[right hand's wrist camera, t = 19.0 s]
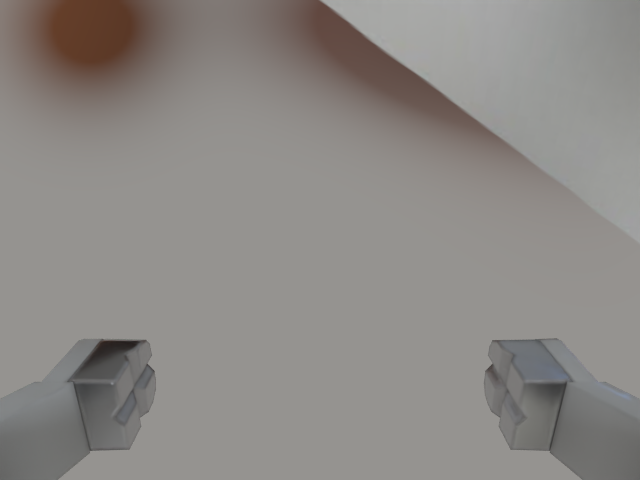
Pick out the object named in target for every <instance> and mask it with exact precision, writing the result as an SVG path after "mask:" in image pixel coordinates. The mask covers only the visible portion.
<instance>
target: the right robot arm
mask: <svg viewBox="0 0 640 480" xmlns="http://www.w3.org/2000/svg"><path fill="white" fill-rule="evenodd" d="M151 356H152V353H151V348H150V344H149V342H148V341H147V340H132V339H83V340H79V341H78V342H77V343H76V344H75V345H74V346H73V347H72V349H71V350H70V351H69V352H68V353H67V354H66V355H65V356H64V358H63V359H62V360H61V361H60V362H59V363H58V364H57V365H56V366H55V367H54V369H53V370H52V371H51V372H50V373H49V374H48V375H47V376H46V377H45V379H44V380H43V381H42V382H34V383H31V384H29V385H27V386H25V387H23V388H21V389H19V390H17V391H15V392H13V393H11V394H9V395H7V396H5V397H3V398H1V399H0V480H58V479H59V478H60V477H61V476H63V475H64V474H65V473H66V472H68V471H69V470H70V469H71V468H72V467H73V466H75V465H76V464H77V463H78V462H80V461H81V460H82V459H83V458H84V457H86V456H87V455H88V454H89V453H90V451H96V450H129V449H130V447H131V445H132V444H133V442H134V440H135V438H136V436H137V434H138V432H139V430H140V428H141V422H140V417H142V416H143V415H145V414H146V413H147V412H149V410H150V408H151V405H152V403H153V400H154V395H155V391H156V378H155V371H154V370H153V369H152V368H151V367H150V366H149V365H148V364H147V363H148V361H149V359H150V358H151ZM488 356H489V358H490V359H491V361H492V363H493V364H492V365H491V366H490V367H489V368H488V369H487V370H486V371H485V379H484V389H485V396H486V400H487V403H488V405H489V408H490V410H491V411H492V412H493V413H494V414H496V415H497V416H499V417H500V422H499V428H500V430H501V432H502V434H503V436H504V437H505V439H506V442H507V443H508V445H509V447H510V449H511V450H543V451H550V453H551V454H552V455H553V456H555V457H556V458H557V459H558V460H559V461H561V462H562V463H563V464H564V465H565V466H567V467H568V468H569V469H570V470H571V471H573V472H574V473H575V474H576V475H578V476H579V477H580V478H581V479H582V480H640V399H639V398H637V397H635V396H633V395H631V394H629V393H627V392H625V391H623V390H621V389H619V388H617V387H615V386H613V385H611V384H609V383H606V382H598V381H597V380H596V379H595V378H594V376H593V375H592V374H591V373H590V372H589V371H588V370H587V369H586V367H585V366H584V365H583V364H582V363H581V362H580V361H579V360H578V359H577V357H576V356H575V355H574V354H573V353H572V352H571V351H570V350H569V349H568V347H567V346H566V345H565V344H564V343H563V342H562V341H561V340H559V339H535V340H493V341H492V342H491V345H490V347H489V353H488Z"/></svg>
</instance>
